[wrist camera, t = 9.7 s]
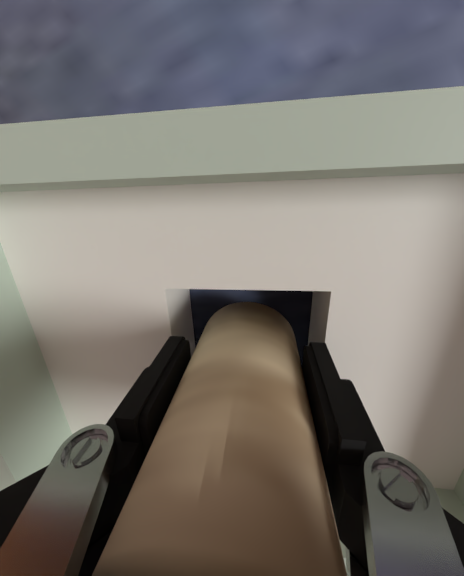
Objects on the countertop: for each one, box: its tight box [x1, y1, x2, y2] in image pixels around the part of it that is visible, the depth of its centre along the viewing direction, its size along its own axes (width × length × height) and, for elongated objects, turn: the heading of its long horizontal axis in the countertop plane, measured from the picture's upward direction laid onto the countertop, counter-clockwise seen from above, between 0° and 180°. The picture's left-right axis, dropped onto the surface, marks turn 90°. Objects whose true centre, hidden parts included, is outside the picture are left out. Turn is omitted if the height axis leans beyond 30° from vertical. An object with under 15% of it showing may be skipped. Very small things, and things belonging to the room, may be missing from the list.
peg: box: [92, 302, 347, 576], centre depth 8 cm, size 4×4×8 cm
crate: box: [0, 86, 464, 572], centre depth 10 cm, size 16×22×6 cm
